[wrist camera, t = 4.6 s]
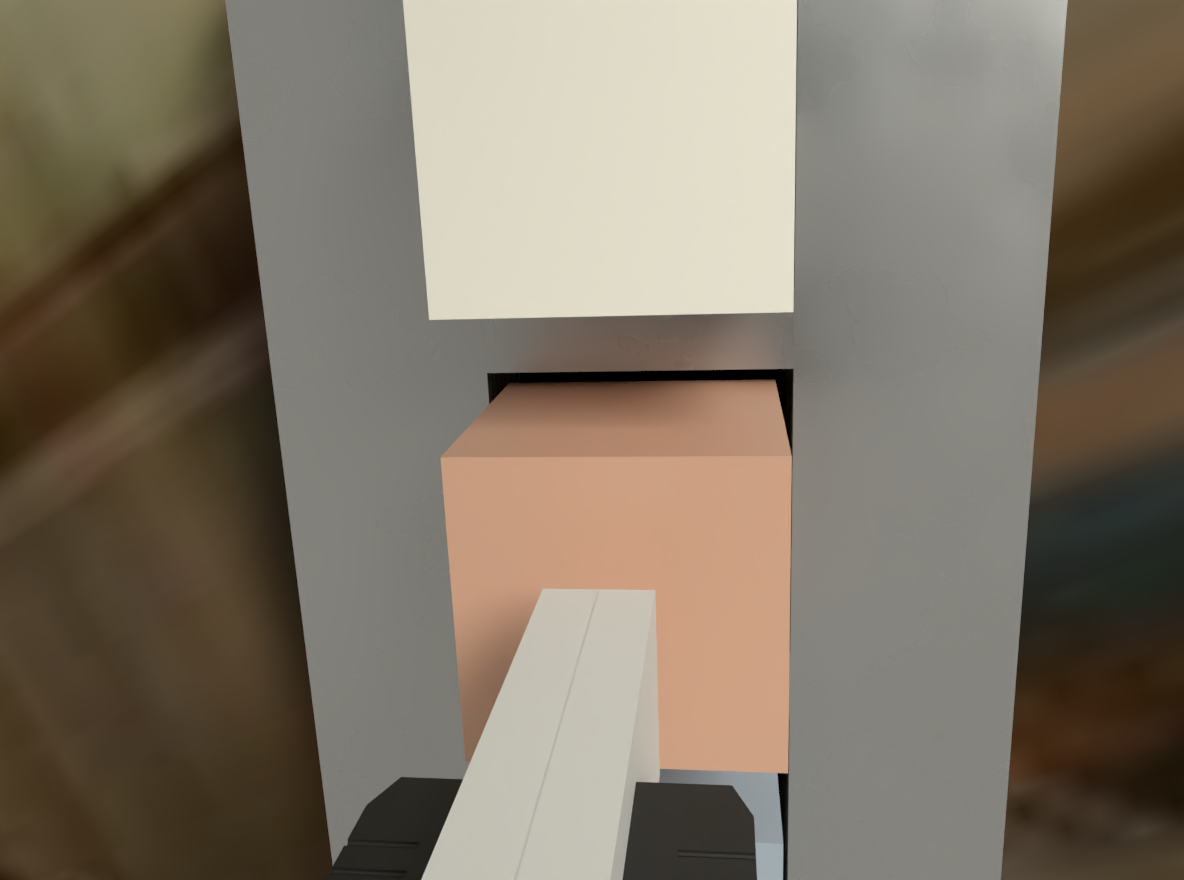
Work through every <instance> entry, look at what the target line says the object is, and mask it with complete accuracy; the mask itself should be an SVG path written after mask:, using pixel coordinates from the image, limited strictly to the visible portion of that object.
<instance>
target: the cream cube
mask: <svg viewBox="0 0 1184 880" xmlns="http://www.w3.org/2000/svg"><path fill="white" fill-rule="evenodd" d="M403 8H404V20H405V32H406V45H407V57H408V69H409V81H410V93H411V105H412V118H413V130H414V142H415V154H416V166H417V179H418V191H419V203H420V215H421V227H422V239H423V252H424V264H425V276H426V288H427V300H428V312H429V320H450V319H497V318H544V317H591V316H638V315H686V314H733V313H780V312H793V309H794V223H795V136H796V50H797V0H403Z"/></svg>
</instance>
